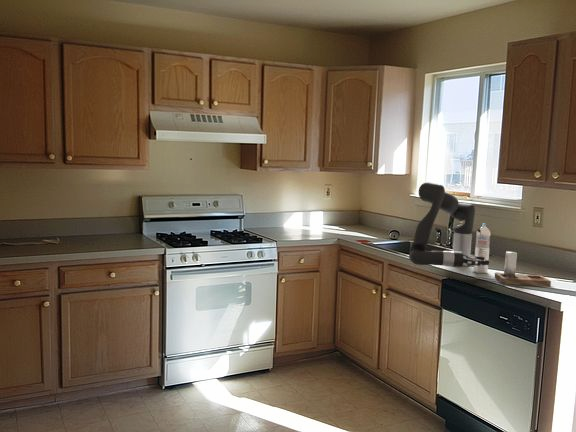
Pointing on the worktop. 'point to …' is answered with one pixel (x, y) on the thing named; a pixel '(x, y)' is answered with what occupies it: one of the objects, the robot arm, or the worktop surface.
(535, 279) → the wooden tray
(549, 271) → the worktop surface
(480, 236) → the water bottle
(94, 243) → the worktop surface
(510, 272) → the peg
